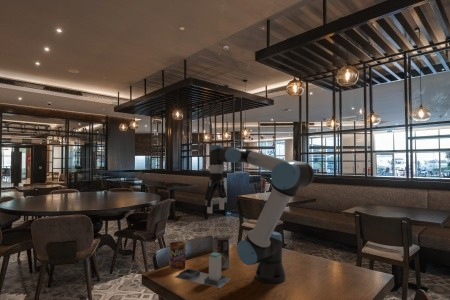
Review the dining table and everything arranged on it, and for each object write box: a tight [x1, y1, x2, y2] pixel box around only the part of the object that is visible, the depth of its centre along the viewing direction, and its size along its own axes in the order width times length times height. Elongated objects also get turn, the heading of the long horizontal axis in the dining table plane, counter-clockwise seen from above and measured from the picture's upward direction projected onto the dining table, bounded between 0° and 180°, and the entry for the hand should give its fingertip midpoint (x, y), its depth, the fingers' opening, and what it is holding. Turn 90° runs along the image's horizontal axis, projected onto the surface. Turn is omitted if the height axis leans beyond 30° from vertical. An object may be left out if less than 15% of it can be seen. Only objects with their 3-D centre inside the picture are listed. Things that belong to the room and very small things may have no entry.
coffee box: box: [212, 236, 231, 270], centre depth 159 cm, size 9×6×16 cm
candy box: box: [168, 239, 187, 271], centre depth 155 cm, size 9×4×15 cm, turn 98°
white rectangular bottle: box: [208, 251, 222, 281], centre depth 139 cm, size 5×4×13 cm
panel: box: [174, 268, 231, 290], centre depth 142 cm, size 26×12×2 cm, turn 63°
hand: (215, 211), depth 156 cm, fingers open, 13 cm apart
